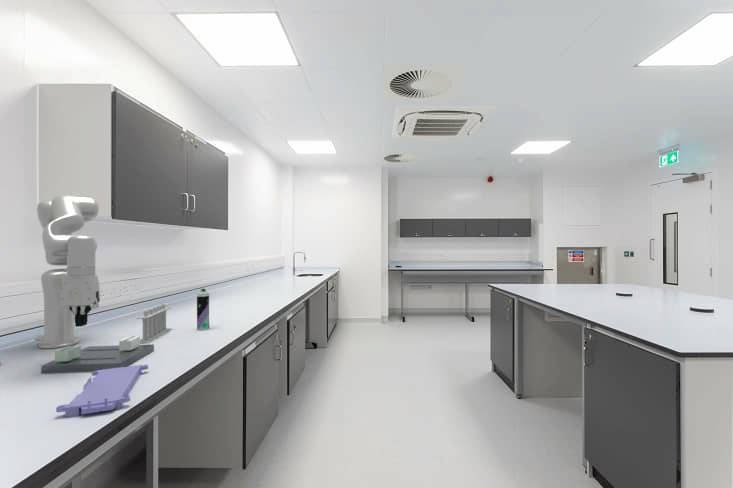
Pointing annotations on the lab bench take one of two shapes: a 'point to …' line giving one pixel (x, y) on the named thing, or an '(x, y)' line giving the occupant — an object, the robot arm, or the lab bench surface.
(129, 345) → the block
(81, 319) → the robot arm
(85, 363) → the dark grey flat board
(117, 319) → the lab bench surface
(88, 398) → the computer part
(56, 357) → the fader green
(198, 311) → the spray can
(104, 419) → the lab bench surface
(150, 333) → the test tube rack
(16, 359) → the lab bench surface
